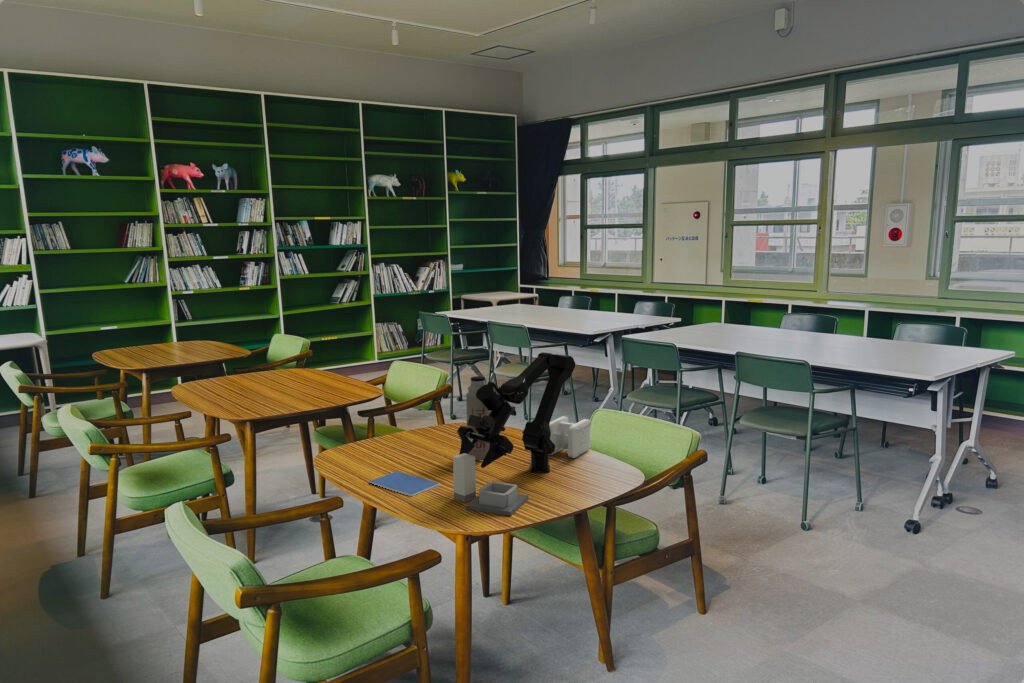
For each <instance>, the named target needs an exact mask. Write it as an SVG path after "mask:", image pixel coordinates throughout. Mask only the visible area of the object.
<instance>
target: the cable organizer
mask: <svg viewBox="0 0 1024 683" xmlns="http://www.w3.org/2000/svg"><path fill="white" fill-rule="evenodd" d="M549 426H550V431H551V436H550V440H551V441H552V442H553V443H554V444H555V450H554V452H552V454H551V455H550V456H554V455H555V454H554V453H556V454H557V453H559V452H560V451H562V450H564V449H565V451H564V452H565V454H567V456H568V457H569V458H572V459H573V458H575V459H576V458H578V457H579V456H580V455H582V454H585V453H586V451H588V450H589V449H590V447H591V437H592V436H591V434H592V433H591V431H592V430H591V427H592V422H591V419H587V418H583V419H582V420H580V421H578V422H576V423H574V422H569V417H568V416H564V415H563V416H560V417H558V418H556V419H554V420H552V421H550V423H549ZM553 454H554V455H553Z"/></svg>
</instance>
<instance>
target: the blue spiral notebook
mask: <svg viewBox="0 0 1024 683" xmlns="http://www.w3.org/2000/svg"><path fill="white" fill-rule="evenodd" d="M369 482H370V483H372V484H374V485H373V486H375V485H378V486H377V487H379V486H380V487H379V488H382V487H383V488H382V489H385V488H386V489H385V490H388V489H389V490H388V491H391V490H392V492H394V491H395V493H397V492H398V493H397V494H400V493H401V495H403V494H404V496H406V495H408V496H407V497H409V496H414V497H416V496H418V494H419V495H421V494H423V493H422V492H424V493H425V491H426V492H428V491H431V490H434V489H436V488H438V487H440V486H441V483H440V482H437V481H435V480H434V481H433V480H430V479H426V478H422V477H419V476H415V475H413V474H408V473H406V472H402V471H399V470H398V471H394V472H391V473H388V474H385V475H383V476H380V477H377V478H374V479H371V480H369V481H368V483H369ZM372 484H371V485H372ZM420 493H421V494H420ZM415 495H416V496H415Z"/></svg>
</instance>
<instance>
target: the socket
mask: <svg viewBox="0 0 1024 683" xmlns="http://www.w3.org/2000/svg"><path fill="white" fill-rule="evenodd" d="M518 491H519V488H518V484H515V483H514V484H513V483H508V482H500V481H491V482H490V481H489V482H487V483H486V484H485V485H483V486H482V487H480V488H479V490H478V496H476V499H473V500H471V502H469V503H467V505H466V506H467V507H466V509H467V510H469V511H470V510H471V511H476V510H477V512H482V511H483V513H488V512H489V513H488V514H494V513H496V514H495V515H500V514H503V515H502V516H506V515H511V516H513V515H514V514H515V513H516V512H517V511H518V510H519V509H520V508H521V507H523V506H524V504H525V502H526V501H527V500H528V499H529V500H530V495H527V494H521V493H518ZM529 500H528V501H529ZM528 501H527V502H528ZM527 502H526V503H527ZM520 506H521V507H520ZM519 507H520V508H519ZM518 508H519V509H518ZM517 509H518V510H517ZM516 510H517V511H516ZM515 511H516V512H515ZM514 512H515V513H514ZM513 513H514V514H513ZM512 514H513V515H512Z"/></svg>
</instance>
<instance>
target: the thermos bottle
mask: <svg viewBox="0 0 1024 683" xmlns="http://www.w3.org/2000/svg"><path fill="white" fill-rule="evenodd" d="M484 385H486V377H484V376H480V375H479V376H471V377H470V386H468V388H467V390H468V391H467V393H465V394H466V396H465V398H466V400H465V401H466V405H465V406H466V426H467V427H471V428H472V429H473V430H474V431H475V433H478V431H476V430H475V427H473V426H471V425H470V426H469V425H467V423H468V420H469V417H470V415H475V416H479V417H483V416H485V415H487V416H488V415H489V413H490V411H489V410H487V409H486V408H485V407H484V406H483V404H482V403H481V402H480V401H479V400H478V399H477V397H476V392H477V390H478V389H480V388H481V387H482V386H484ZM474 445H475V447H474V448H473V449H472V450H471V451H470V452H469V455H473V456H475V460H477V461H476V462H479V461H478V460H484V458H485V456H486V454H487V452H488V450H489V445H490V443H486V442H482V441H477V443H475V444H474Z"/></svg>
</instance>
